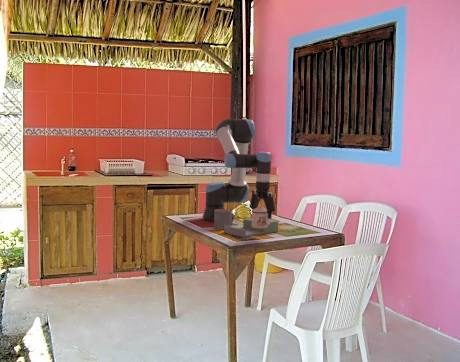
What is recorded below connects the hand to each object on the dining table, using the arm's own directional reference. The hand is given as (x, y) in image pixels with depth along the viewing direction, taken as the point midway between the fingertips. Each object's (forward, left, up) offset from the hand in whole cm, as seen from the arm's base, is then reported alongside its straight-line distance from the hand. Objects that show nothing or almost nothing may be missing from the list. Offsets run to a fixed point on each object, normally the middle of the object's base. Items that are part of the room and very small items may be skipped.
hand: (261, 222), depth 295 cm
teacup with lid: (0, 0, -2) cm, 2 cm away
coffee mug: (-33, +4, -8) cm, 34 cm away
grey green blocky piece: (-14, +6, -8) cm, 17 cm away
